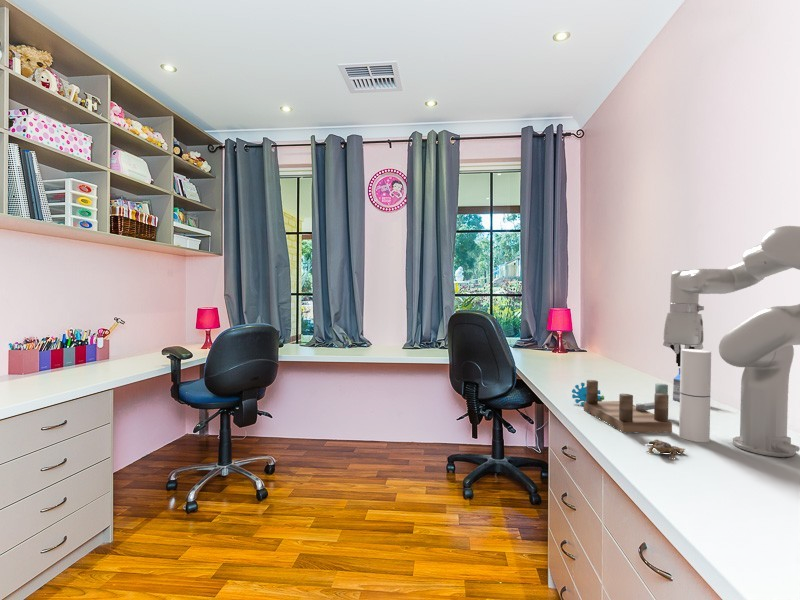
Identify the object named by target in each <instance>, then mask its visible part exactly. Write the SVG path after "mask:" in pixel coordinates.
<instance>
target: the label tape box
mask: <svg viewBox="0 0 800 600" xmlns="http://www.w3.org/2000/svg"><path fill="white" fill-rule="evenodd" d="M672 401H676V402H680V367H679V368H678V375H676V376H675V377H673V387H672Z"/></svg>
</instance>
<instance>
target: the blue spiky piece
mask: <svg viewBox="0 0 800 600" xmlns="http://www.w3.org/2000/svg"><path fill="white" fill-rule="evenodd" d="M585 385H586V384H585V382H581V383H580V386H579V384H576V385H574V388H573V389H572V390H571V392H572V393H573V394H572V395H571V396H572V399H575V400H574V402H575V403H576V404H579V403H580V405H581V406H582V405H583V406H582V407H584V402H586V392H587V385H586V386H585ZM580 387H581V388H580ZM576 390H577V391H576ZM598 401H605V396H604V395H601V390H600V389H598Z"/></svg>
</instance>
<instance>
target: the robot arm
mask: <svg viewBox="0 0 800 600" xmlns="http://www.w3.org/2000/svg"><path fill="white" fill-rule="evenodd" d="M790 269H796V270H799V271H800V226H798V225H783V226H778V227H775V228H773V229H772V230H770V231H769V232H767V233H766V234H765V236H763V238H762V240H761V243H760V244H757V245H755V246H753V247H750V248H748V249H746V250H745V251H744V253H743V256H742V262H740V263H737V264H735V265H732V266H729V267H727V268H696V269H693V270H692V269H688V270H687V269H685V270H684V269H683V270H680V269H678V270H673V272H672V273H671V274H670V275H671V276H670V292H669V293H670V296H669V297H670V300H669V301H670V302H669V312H667V313H666V317H665V324H664V329H663V344H662V346H663V347H667V348H670V349H672V351H673V352H674V353H675V358H676V359H675V363H676V364H677V367H679V368H680V363H681V349H682V346H684V348H683V349H698V350H704V346H703V343H704V324H703V323H704V321H703V316H702V314H701V313H699V312H701V311H704V310H705V306H703V305H700V304H699V301H700V300H699V299H700V297H699V295H700V294H702V295H710V294H711V295H712V294H713V295H715V294H716V295H718V294H719V295H721V294H722V295H725V294H731V293H734V292H737V291H740V290H744V289H747V288H749V287H750V288H751V287H752V286H755V285H756V284H758V283H760V282H762V281H763V280H764V279H765V278H767V277H770V276H773V275H776V274H779V273H781V272H784V271H788V270H790ZM794 346H800V303H798V304H794V305H779V306H778V305H777V306H772V307H766V308H765V309H763V310H760V311H757V313H755V314H753V315H752V316H750V317H749V318H748V319H747V318H746V320H744V321H743V322H742V323H739V325H737V326H735V327H734V328H733V329H731V330H730V331H728V332H727V333H725V335H724V336H723V337H722V338H721V339H720V342H719V344H718V353H719V356H720V358H721V359H722V360H723V361H724V362H725V363H727V364H728V365H730V366H732V367H736V368H744V369H743V372H742V375H741V379H740V380H741V381H740V413H739V414H740V424H739V435H738V436H735V437H733V438H732V444H733V445H734V446H736V447H737V448H739V449H741V450H744V451H747V452H749V453H754V454H757V455H758V454H759V455H762V456H763V455H764V456H769V457H778V458H787V457H788V458H789V457H793V456H795V454H796V453H797V452H799V451H800V447H799V446H798V445H795V444H794V443H793V444H792V442H791V441H792V438H791V437H790V436H788V408H789V407H788V406H789V405H788V403H789V402H788V401H789V382H790V381H789V379H790V372H791V367H792V365H793V364H792V363H793V359H794V355H795V353H794V352H795V349H794Z"/></svg>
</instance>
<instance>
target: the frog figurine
mask: <svg viewBox="0 0 800 600" xmlns="http://www.w3.org/2000/svg"><path fill="white" fill-rule="evenodd" d="M648 443H649V444H653V445H652V446H651V445H650V447H648V450H646V453H647V452H649V453H654V452H655V451H653V448H655V449H656V450H657V451H658V452H657V451H656V452H657V453H659V452H660V453H670V452H671V453H672V454H671V455H670V458H673V459H674V458H676V454H678V453H681V454H684V453H686V451H685V450H686V448H682V447H679V446H675V445H671V444H670V443H669V442H665V441H663V440H659V439H654V440H650V441H649V442H648ZM676 452H678V453H676ZM649 453H648V454H649ZM673 459H672V460H673Z"/></svg>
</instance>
